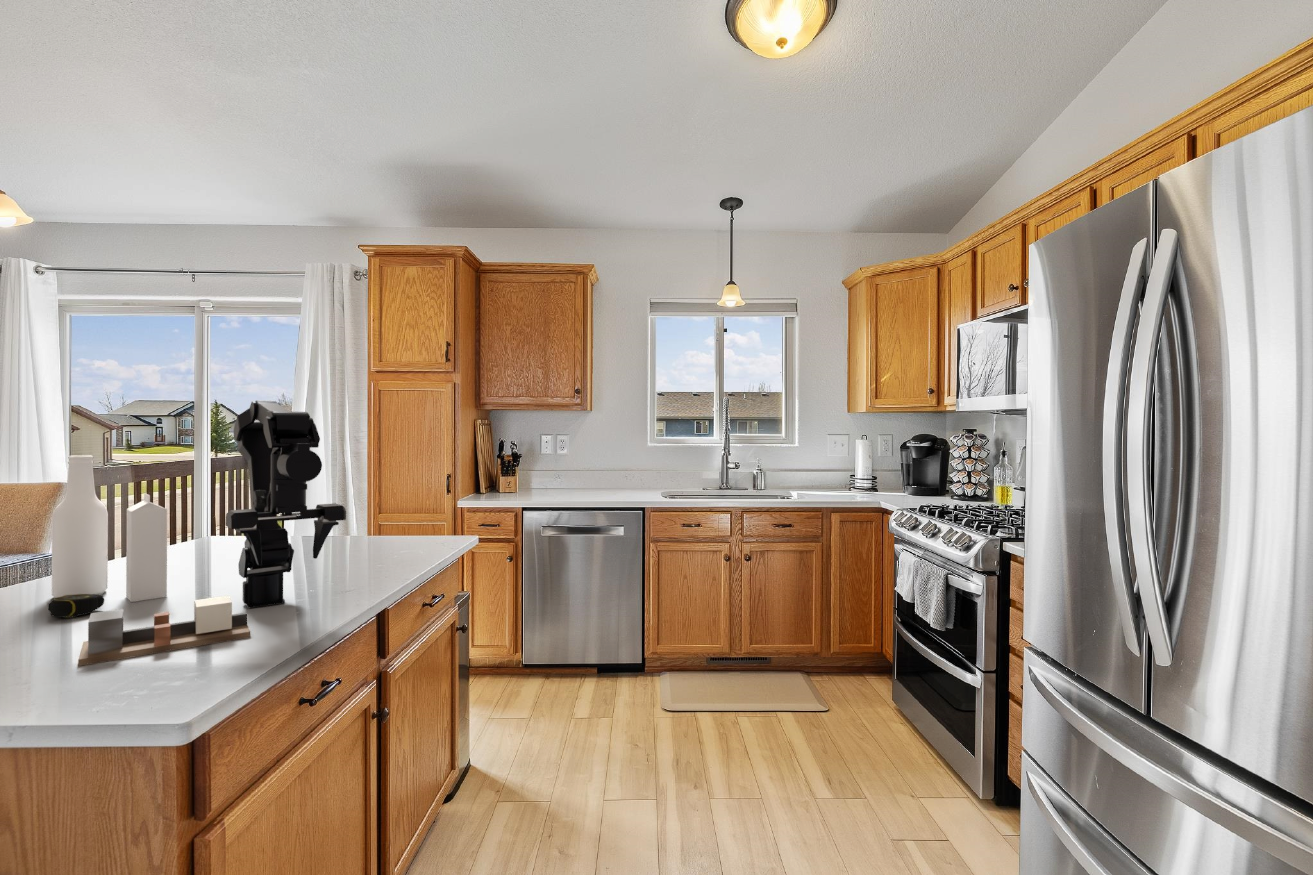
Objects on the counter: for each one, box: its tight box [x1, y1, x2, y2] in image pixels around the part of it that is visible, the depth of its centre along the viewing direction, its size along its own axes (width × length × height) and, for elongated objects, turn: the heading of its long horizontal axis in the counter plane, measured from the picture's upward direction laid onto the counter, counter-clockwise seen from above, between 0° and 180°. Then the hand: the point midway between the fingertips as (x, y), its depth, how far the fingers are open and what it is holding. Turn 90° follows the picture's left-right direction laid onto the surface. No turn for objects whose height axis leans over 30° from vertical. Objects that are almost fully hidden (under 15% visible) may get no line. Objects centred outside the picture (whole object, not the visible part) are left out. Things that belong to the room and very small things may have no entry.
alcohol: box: [51, 454, 109, 599], centre depth 133 cm, size 9×9×30 cm
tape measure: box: [47, 594, 105, 619], centre depth 119 cm, size 7×7×4 cm
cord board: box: [77, 608, 251, 667], centre depth 105 cm, size 22×10×6 cm, turn 130°
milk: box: [125, 492, 168, 603], centre depth 132 cm, size 6×6×22 cm
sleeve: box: [193, 595, 233, 634], centre depth 109 cm, size 5×5×5 cm
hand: (287, 561), depth 116 cm, fingers open, 9 cm apart
